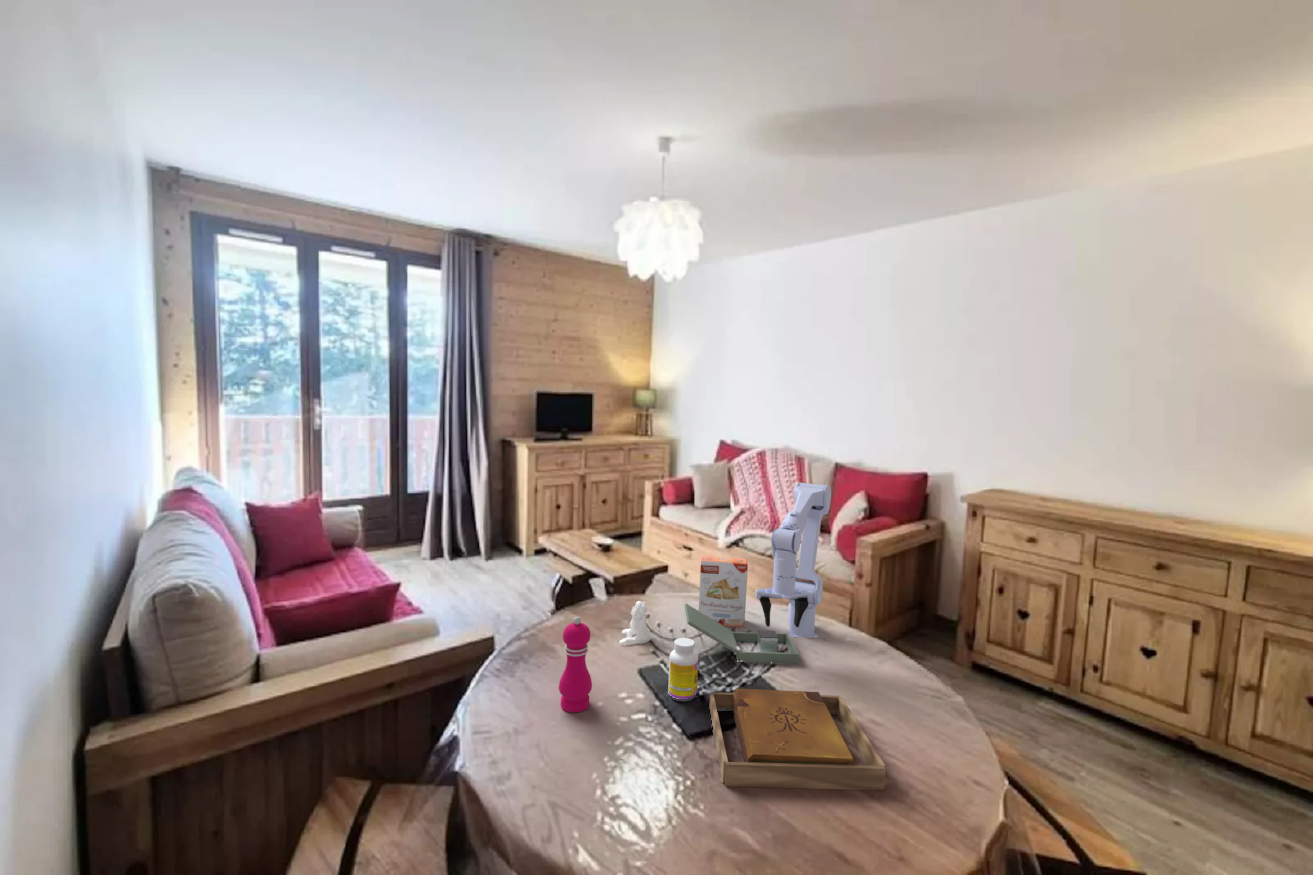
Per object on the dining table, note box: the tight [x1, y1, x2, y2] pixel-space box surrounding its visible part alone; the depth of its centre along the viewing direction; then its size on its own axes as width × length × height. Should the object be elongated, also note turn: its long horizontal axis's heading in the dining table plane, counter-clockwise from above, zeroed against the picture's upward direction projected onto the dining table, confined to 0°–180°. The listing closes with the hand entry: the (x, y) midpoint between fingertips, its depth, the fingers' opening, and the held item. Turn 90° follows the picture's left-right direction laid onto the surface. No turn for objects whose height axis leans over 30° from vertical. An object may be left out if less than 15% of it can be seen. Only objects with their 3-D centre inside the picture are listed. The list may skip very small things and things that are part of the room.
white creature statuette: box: [618, 600, 652, 647], centre depth 159 cm, size 10×9×12 cm
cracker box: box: [698, 555, 749, 628], centre depth 172 cm, size 14×6×21 cm, turn 83°
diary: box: [732, 688, 854, 765], centre depth 114 cm, size 23×19×6 cm
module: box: [756, 629, 779, 653], centre depth 154 cm, size 4×4×6 cm
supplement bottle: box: [667, 637, 699, 699], centre depth 131 cm, size 7×7×13 cm
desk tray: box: [708, 691, 887, 791], centre depth 114 cm, size 25×29×4 cm
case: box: [684, 603, 800, 665], centre depth 154 cm, size 13×29×11 cm, turn 91°
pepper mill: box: [558, 616, 593, 713], centre depth 126 cm, size 7×7×20 cm
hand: (782, 625), depth 150 cm, fingers open, 7 cm apart
